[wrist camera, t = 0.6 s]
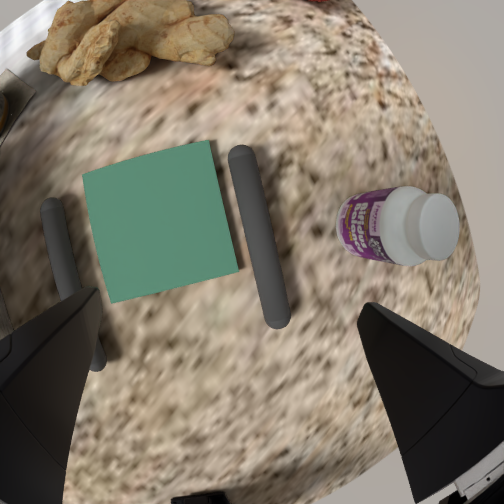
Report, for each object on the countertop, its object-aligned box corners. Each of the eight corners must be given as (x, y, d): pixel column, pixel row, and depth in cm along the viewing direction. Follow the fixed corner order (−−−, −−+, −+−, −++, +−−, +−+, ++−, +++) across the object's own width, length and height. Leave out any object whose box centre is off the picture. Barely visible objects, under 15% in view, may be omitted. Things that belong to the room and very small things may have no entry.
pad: (237, 270, 22) (238, 271, 21) (113, 301, 20) (111, 303, 20) (208, 142, 21) (208, 139, 20) (84, 175, 19) (82, 174, 18)
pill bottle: (324, 205, 23) (400, 194, 13) (373, 186, 23) (453, 171, 14) (344, 267, 23) (423, 287, 14) (390, 243, 24) (471, 251, 15)
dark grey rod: (112, 363, 20) (106, 374, 18) (93, 366, 20) (85, 377, 18) (65, 195, 19) (54, 192, 17) (46, 202, 18) (34, 201, 16)
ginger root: (26, 35, 15) (14, -17, 7) (165, -9, 20) (184, -59, 13) (49, 154, 17) (20, 110, 10) (218, 88, 23) (255, 37, 16)
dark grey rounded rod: (288, 320, 23) (296, 328, 21) (264, 327, 22) (271, 336, 21) (249, 146, 21) (254, 139, 19) (223, 151, 21) (226, 144, 19)
